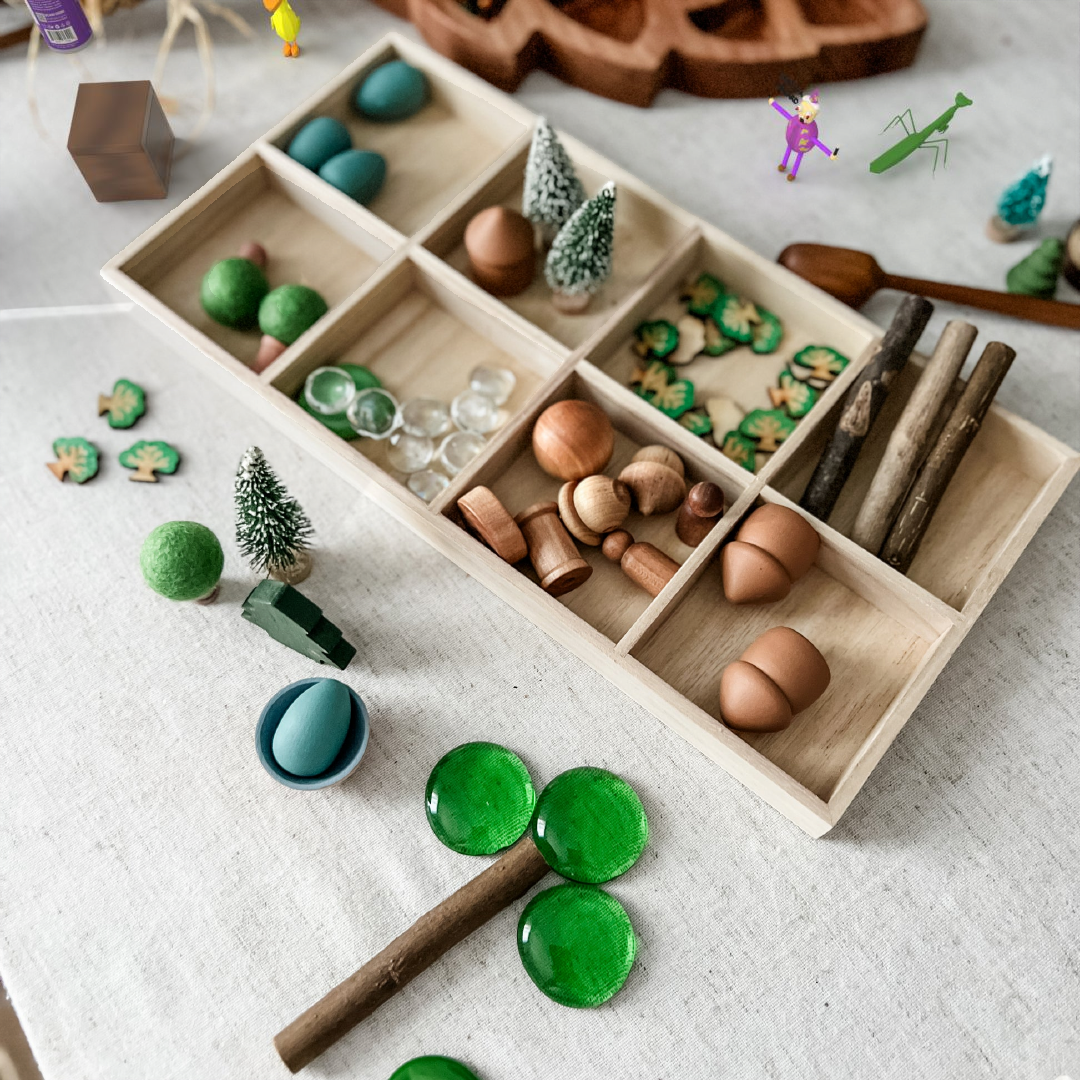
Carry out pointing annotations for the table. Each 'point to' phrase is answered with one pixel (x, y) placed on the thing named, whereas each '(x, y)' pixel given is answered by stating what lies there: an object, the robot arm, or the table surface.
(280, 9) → the toy figure
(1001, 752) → the table surface
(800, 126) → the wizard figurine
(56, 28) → the container
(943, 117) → the praying mantis
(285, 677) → the table surface
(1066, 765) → the table surface
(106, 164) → the brown wooden cube
